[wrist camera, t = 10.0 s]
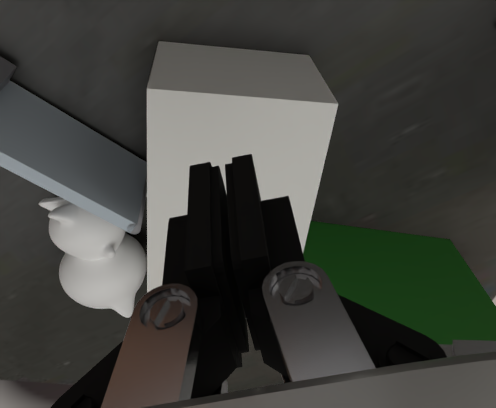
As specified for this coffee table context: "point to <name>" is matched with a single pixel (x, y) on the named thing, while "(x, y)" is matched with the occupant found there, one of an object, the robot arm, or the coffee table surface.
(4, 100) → the side door
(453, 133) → the coffee table surface
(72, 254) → the cat figurine
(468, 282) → the hardback book
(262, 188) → the white rectangular box
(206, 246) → the robot arm
